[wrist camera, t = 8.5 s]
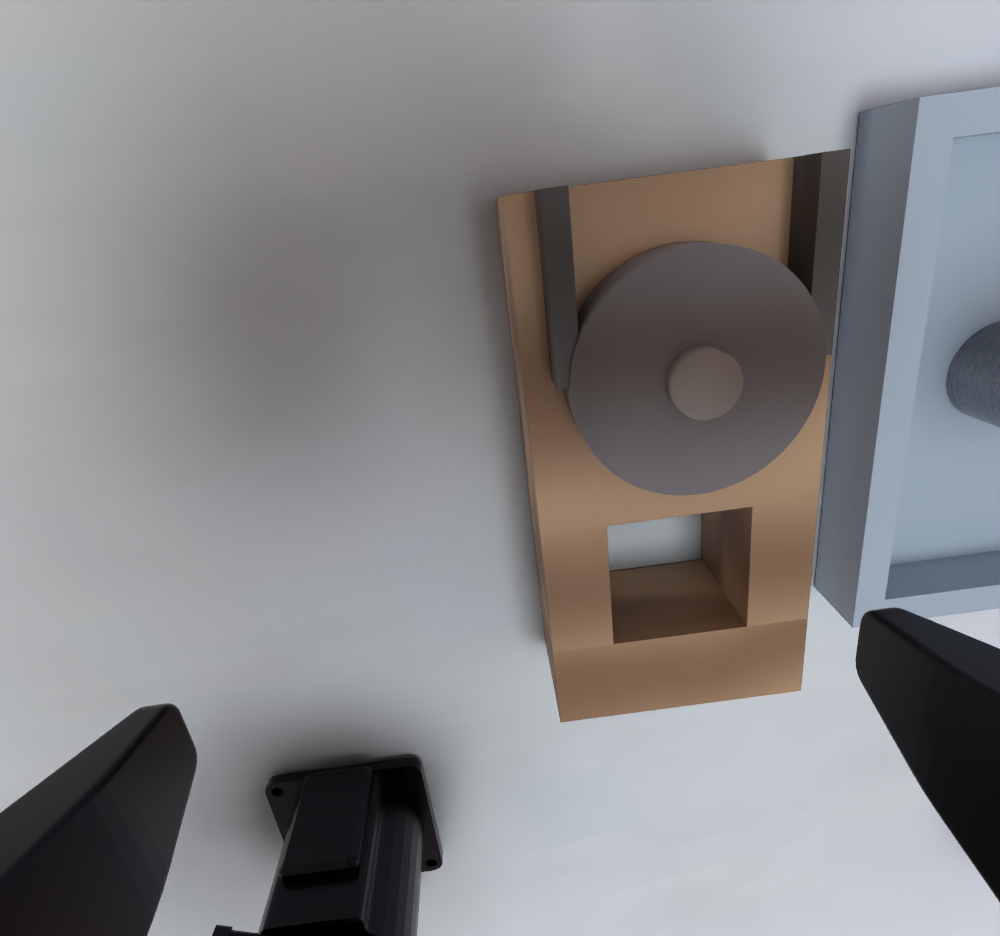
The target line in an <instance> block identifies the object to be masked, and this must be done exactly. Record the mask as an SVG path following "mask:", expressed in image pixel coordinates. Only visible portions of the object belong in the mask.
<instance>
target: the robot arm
mask: <svg viewBox="0 0 1000 936" xmlns="http://www.w3.org/2000/svg"><path fill="white" fill-rule="evenodd" d="M856 669H857V673H858V676H859V678H860V680H861V682H862V684H863V686H864V688H865V690H866V691H867V693H868V695H869V697H870V698H871V700H872V702H873V704H874V706H875V707H876V709H877V711H878V713H879V714H880V716H881V718H882V720H883V722H884V723H885V725H886V727H887V729H888V730H889V732H890V734H891V736H892V738H893V739H894V741H895V743H896V745H897V746H898V748H899V750H900V752H901V754H902V755H903V757H904V759H905V761H906V762H907V764H908V766H909V768H910V770H911V771H912V773H913V775H914V776H915V778H916V780H917V781H918V783H919V785H920V786H921V788H922V790H923V791H924V793H925V794H926V796H927V797H928V799H929V800H930V802H931V803H932V805H933V806H934V808H935V809H936V811H937V812H938V814H939V815H940V817H941V818H942V820H943V821H944V823H945V824H946V825H947V827H948V828H949V830H950V831H951V833H952V834H953V835H954V837H955V838H956V840H957V841H958V843H959V844H960V846H961V847H962V848H963V850H964V851H965V853H966V854H967V856H968V857H969V859H970V860H971V861H972V863H973V864H974V866H975V867H976V869H977V870H978V872H979V873H980V874H981V876H982V877H983V879H984V880H985V882H986V883H987V884H988V886H989V887H990V889H991V890H992V892H993V893H994V895H995V896H996V897H997V899H998V900H999V902H1000V649H999V648H996V647H994V646H991V645H989V644H986V643H984V642H982V641H979V640H977V639H974V638H972V637H970V636H967V635H965V634H962V633H960V632H957V631H955V630H953V629H950V628H948V627H945V626H943V625H941V624H938V623H936V622H933V621H931V620H928V619H926V618H924V617H921V616H919V615H916V614H914V613H912V612H909V611H907V610H904V609H902V608H897V607H892V608H884V609H877V610H870V611H868V612H866V613H865V614H864V615H863V616H862V619H861V623H860V631H859V638H858V646H857V653H856ZM196 765H197V753H196V749H195V746H194V743H193V741H192V738H191V736H190V734H189V731H188V729H187V727H186V724H185V722H184V720H183V717H182V715H181V713H180V711H179V709H178V708H177V707H176V706H175V705H173V704H160V705H152V706H145V707H142V708H139V709H137V710H136V711H134V712H133V713H132V714H130V715H129V716H128V717H126V718H125V719H124V720H122V721H121V722H120V723H119V724H117V725H116V726H115V727H113V728H112V729H111V730H109V731H108V732H107V733H105V734H104V735H103V736H101V737H100V738H99V739H97V740H96V741H95V742H93V743H92V744H91V745H89V746H88V747H87V748H85V749H84V750H83V751H82V752H80V753H79V754H78V755H76V756H75V757H74V758H72V759H71V760H70V761H68V762H67V763H66V764H64V765H63V766H62V767H60V768H59V769H58V770H56V771H55V772H54V773H52V774H51V775H50V776H48V777H47V778H46V779H44V780H43V781H42V782H41V783H39V784H38V785H37V786H35V787H34V788H33V789H31V790H30V791H29V792H27V793H26V794H25V795H23V796H22V797H21V798H19V799H18V800H17V801H15V802H14V803H13V804H11V805H10V806H9V807H7V808H6V809H5V810H4V811H2V812H1V813H0V936H147V934H148V932H149V929H150V926H151V924H152V921H153V918H154V915H155V912H156V910H157V907H158V904H159V901H160V898H161V895H162V892H163V889H164V885H165V882H166V879H167V875H168V872H169V868H170V864H171V861H172V857H173V853H174V849H175V846H176V842H177V838H178V834H179V831H180V827H181V823H182V819H183V816H184V812H185V808H186V804H187V801H188V797H189V793H190V789H191V785H192V782H193V778H194V774H195V770H196ZM407 770H412V771H407ZM265 791H266V796H267V798H268V801H269V804H270V806H271V809H272V811H273V814H274V817H275V819H276V822H277V825H278V827H279V830H280V833H281V835H282V838H283V841H284V845H283V848H282V852H281V855H280V859H279V862H278V866H277V869H276V873H275V876H274V880H273V883H272V887H271V890H270V894H269V897H268V901H267V904H266V907H265V911H264V914H263V918H262V921H261V925H260V928H259V932H258V933H250V932H243V931H235V930H232V927H230V926H222V925H216V927H215V930H214V932H213V935H212V936H417V925H418V910H419V896H420V881H421V872H424V871H431V870H436V869H438V868H440V867H441V865H442V854H443V853H442V848H441V844H440V840H439V835H438V831H437V827H436V823H435V818H434V814H433V810H432V805H431V801H430V797H429V792H428V788H427V784H426V780H425V775H424V771H423V767H422V764H421V762H420V761H419V760H417V759H415V758H404V759H396V760H389V761H381V762H374V763H366V764H359V765H351V766H343V767H336V768H328V769H321V770H313V771H306V772H298V773H290V774H283V775H276V776H273V777H272V778H270V780H269V782H268V784H267V787H266V790H265Z"/></svg>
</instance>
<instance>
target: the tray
mask: <svg viewBox="0 0 1000 936" xmlns="http://www.w3.org/2000/svg"><path fill="white" fill-rule="evenodd" d="M999 321H1000V87H993V88H986V89H978V90H970V91H963V92H955V93H947V94H940V95H932V96H924V97H918V98H914V99H911V100H907V101H903V102H899V103H895V104H891V105H887V106H883V107H879V108H875V109H871V110H867V111H864V112H860V113H859V124H858V134H857V145H856V155H855V166H854V176H853V187H852V197H851V208H850V219H849V229H848V240H847V250H846V261H845V271H844V282H843V292H842V303H841V314H840V324H839V335H838V345H837V356H836V366H835V377H834V387H833V398H832V409H831V419H830V430H829V440H828V451H827V461H826V472H825V482H824V493H823V504H822V514H821V525H820V535H819V546H818V556H817V567H816V577H815V588H816V589H817V590H818V591H819V592H820V593H821V594H822V595H823V597H824V598H825V599H826V600H827V601H828V602H829V603H830V604H831V605H832V606H833V607H834V608H835V609H836V610H837V612H838V613H839V614H840V615H841V616H842V617H843V618H844V619H845V620H846V621H847V622H848V623H849V624H850V625H851V627H852V628H854V627H860V623H861V619H862V616H863V615H864V614H865V613H866V612H868V611H870V610H877V609H884V608H892V607H897V608H902V609H904V610H907V611H909V612H912V613H914V614H916V615H919V616H921V617H924V618H929V617H937V616H944V615H952V614H960V613H967V612H975V611H982V610H990V609H997V608H1000V428H999V427H996V426H993V425H991V424H988V423H986V422H983V421H981V420H978V419H976V418H973V417H971V416H968V415H965V414H963V413H962V412H960V411H958V410H957V409H956V408H955V407H954V406H953V404H952V403H951V401H950V399H949V397H948V394H947V388H946V380H947V374H948V370H949V367H950V364H951V362H952V360H953V358H954V356H955V355H956V353H957V351H958V350H959V349H960V347H961V346H962V345H963V344H964V343H965V342H966V341H967V340H968V339H969V338H970V337H971V336H972V335H973V334H975V333H976V332H978V331H979V330H981V329H982V328H984V327H986V326H988V325H990V324H993V323H996V322H999Z"/></svg>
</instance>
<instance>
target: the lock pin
mask: <svg viewBox="0 0 1000 936" xmlns="http://www.w3.org/2000/svg"><path fill="white" fill-rule="evenodd" d="M946 388H947V394H948V397H949V399H950V401H951V403H952V404H953V406H954V407H955V408H956V409H957V410H958V411H960V412H962V413H963V414H965V415H968V416H971V417H973V418H976V419H978V420H981V421H983V422H986V423H988V424H991V425H993V426H996V427H999V428H1000V321H999V322H996V323H993V324H990V325H988V326H986V327H984V328H982V329H981V330H979V331H978V332H976V333H975V334H973V335H972V336H971V337H970V338H969V339H968V340H967V341H966V342H965V343H964V344H963V345H962V346H961V347H960V349H959V350H958V351H957V353H956V355H955V356H954V358H953V360H952V362H951V364H950V367H949V370H948V374H947V380H946Z"/></svg>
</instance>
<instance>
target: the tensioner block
mask: <svg viewBox="0 0 1000 936" xmlns="http://www.w3.org/2000/svg"><path fill="white" fill-rule="evenodd" d="M849 160H850V149H845V150H837V151H830V152H822V153H816V154H810V155H804V156H799V157H792V158H785V159H777V160H769V161H762V162H754V163H746V164H739V165H731V166H723V167H716V168H708V169H700V170H693V171H685V172H677V173H670V174H662V175H654V176H647V177H639V178H631V179H624V180H616V181H609V182H601V183H593V184H586V185H578V186H570V187H568V186H562V187H554V188H546V189H540V190H536V191H532V192H524V193H517V194H509V195H503V196H501V197H499V198H497V199H496V205H497V213H498V222H499V231H500V240H501V249H502V258H503V267H504V276H505V284H506V293H507V302H508V311H509V320H510V329H511V338H512V347H513V356H514V364H515V373H516V382H517V391H518V400H519V409H520V418H521V427H522V435H523V444H524V453H525V462H526V471H527V480H528V489H529V498H530V507H531V515H532V524H533V533H534V542H535V551H536V560H537V569H538V578H539V586H540V595H541V604H542V613H543V622H544V631H545V640H546V647H547V652H548V657H549V663H550V668H551V673H552V679H553V684H554V689H555V695H556V700H557V705H558V711H559V716H560V722H567V721H574V720H582V719H589V718H597V717H605V716H612V715H620V714H627V713H635V712H642V711H650V710H658V709H665V708H673V707H680V706H688V705H695V704H703V703H710V702H718V701H726V700H733V699H741V698H748V697H756V696H763V695H771V694H779V693H786V692H794V691H801V684H802V673H803V662H804V651H805V640H806V629H807V618H808V607H809V597H810V586H811V575H812V564H813V553H814V542H815V531H816V520H817V509H818V498H819V487H820V476H821V465H822V455H823V444H824V433H825V422H826V411H827V400H828V389H829V378H830V367H831V356H832V345H833V335H834V324H835V313H836V302H837V291H838V280H839V269H840V258H841V247H842V236H843V225H844V214H845V203H846V193H847V182H848V171H849ZM701 513H702V557H701V560H695V561H687V562H680V563H672V564H664V565H657V566H649V567H642V568H634V569H627V570H619V571H611V572H609V559H608V542H607V526H610V525H617V524H625V523H632V522H640V521H647V520H655V519H663V518H670V517H678V516H685V515H693V514H701Z"/></svg>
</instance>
